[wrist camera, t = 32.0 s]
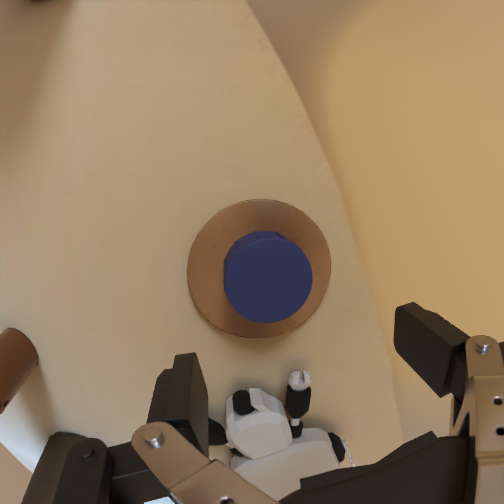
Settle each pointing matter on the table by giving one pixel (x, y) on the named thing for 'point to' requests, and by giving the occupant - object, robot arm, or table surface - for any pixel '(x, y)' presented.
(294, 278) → the lid
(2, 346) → the jar
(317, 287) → the coaster
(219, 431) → the robot toy
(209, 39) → the table surface
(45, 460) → the pillar candle
